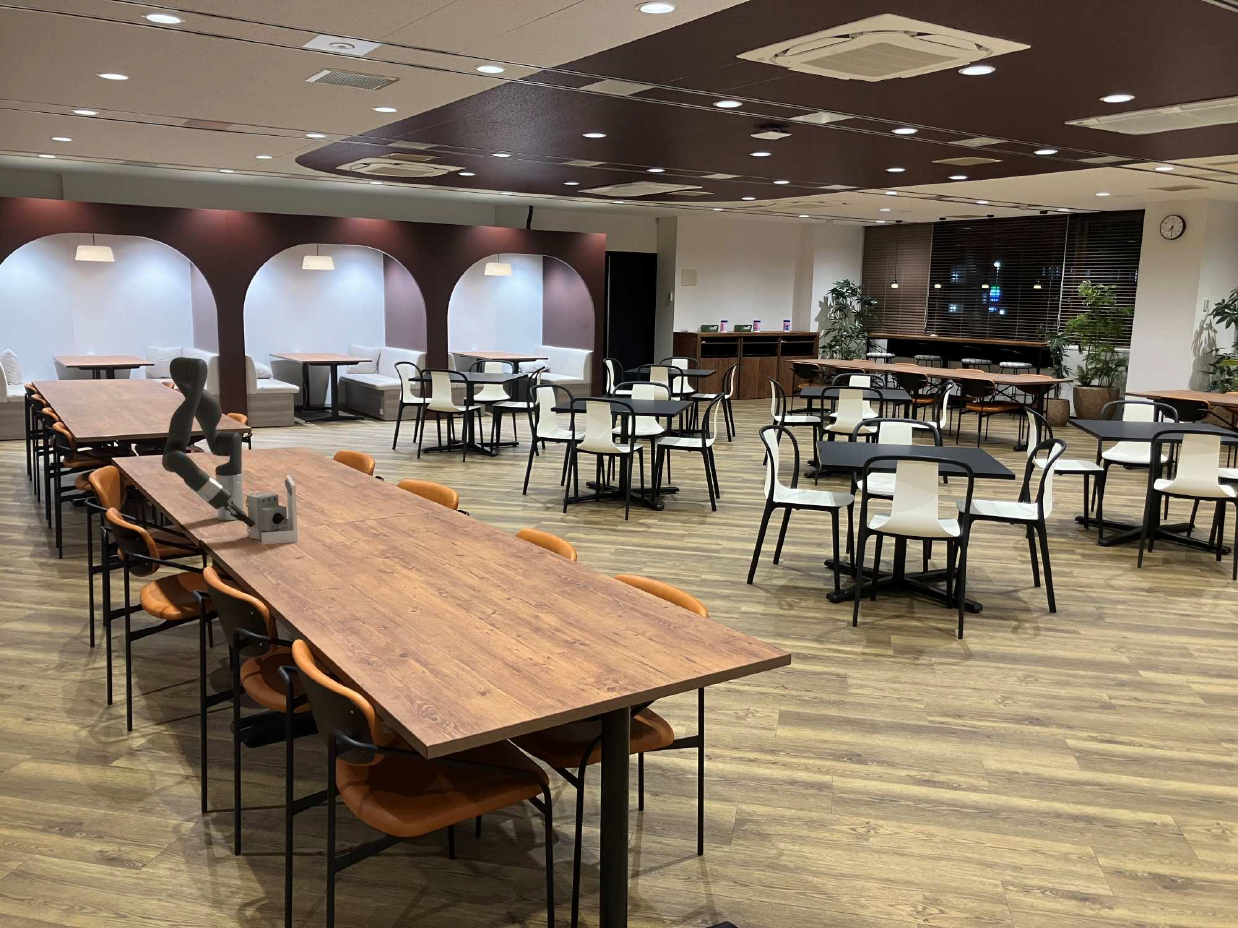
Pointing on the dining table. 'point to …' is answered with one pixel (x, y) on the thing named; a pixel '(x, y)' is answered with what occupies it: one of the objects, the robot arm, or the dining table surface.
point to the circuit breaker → (265, 514)
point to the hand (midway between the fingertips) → (252, 525)
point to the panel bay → (291, 521)
